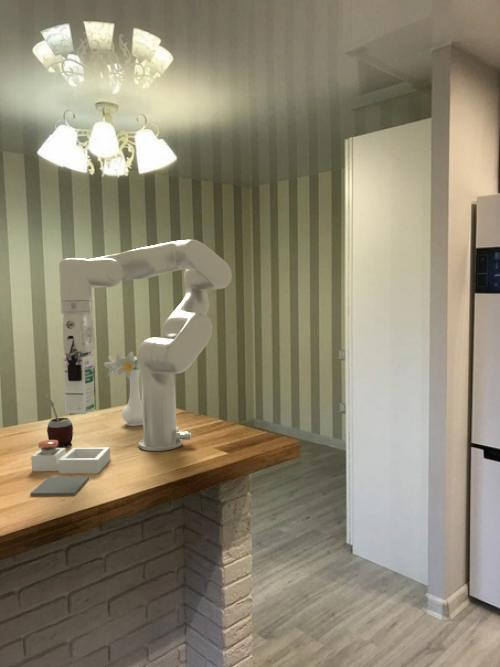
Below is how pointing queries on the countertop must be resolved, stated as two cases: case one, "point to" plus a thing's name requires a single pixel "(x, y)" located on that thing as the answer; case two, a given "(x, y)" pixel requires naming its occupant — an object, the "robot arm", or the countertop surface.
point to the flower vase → (134, 406)
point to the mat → (60, 486)
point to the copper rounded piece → (48, 447)
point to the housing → (72, 460)
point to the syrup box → (80, 387)
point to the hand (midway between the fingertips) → (80, 377)
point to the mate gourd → (60, 429)
